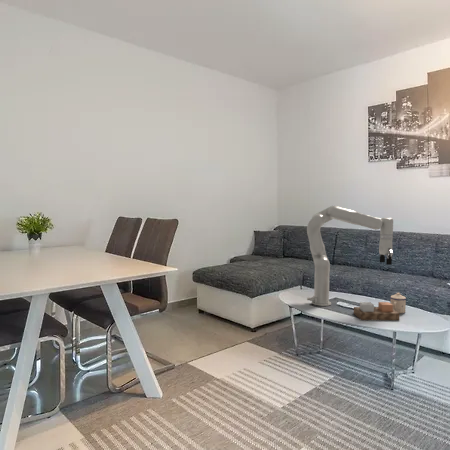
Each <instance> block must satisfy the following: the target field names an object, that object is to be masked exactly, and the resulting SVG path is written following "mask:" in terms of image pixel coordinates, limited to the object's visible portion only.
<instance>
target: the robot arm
mask: <svg viewBox="0 0 450 450" xmlns="http://www.w3.org/2000/svg"><path fill="white" fill-rule="evenodd" d="M332 220H337V221H340V222H344V223H348V224H352V225H357V226H361V227H365V228H368V229H371V230H372V229H373V230H379V239H380V240H379V243H378V246H379V247H378V253H379V262H380V263H385V261H386V265H387V266H392V263H393V256H394V252H393V240H394V239H393V238H394V219H393V217H375V216H372V215H368V214H365V213H361V212H359V211H357V210H356V211H355V210H352V209H349V208H344V207H341V206H338V205H331V206H328V207H327V208H325V209H323V210H321V211H318V212H317V213H315V214H313V215H312V217H311V219H310V220H309V221H308V222H307V226H306V233H307V238H308V241H309V242H308V243H309V250H310V253H311V257H312V260H313V264H314V286H313V288H314V289H313V290H314V291H313V294H314V295H313V296H312V297H309V296H308V297H306V300H307V301H310V302H311V304H313V305H315V306H320V307H328V306H331V305H332V302H331V301H330V272H331V271H330V270H331V264H330V263H331V262H330V260H329V258H328V255H327V252H326V246H325V243H324V240H323V238H322V234H321V228H322V227H323V226H324V225H325V224H326V223H328V222H330V221H332Z"/></svg>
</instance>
